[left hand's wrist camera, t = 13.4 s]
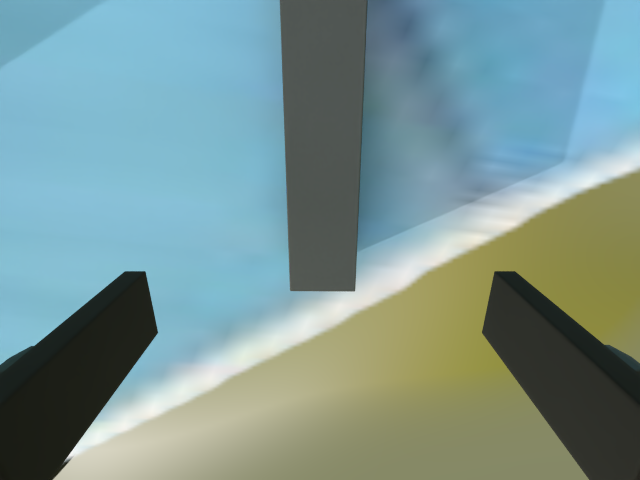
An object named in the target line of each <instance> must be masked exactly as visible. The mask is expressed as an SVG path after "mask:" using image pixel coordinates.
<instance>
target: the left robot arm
mask: <svg viewBox="0 0 640 480" xmlns="http://www.w3.org/2000/svg"><path fill="white" fill-rule="evenodd" d="M157 333H158V331H157V326H156V321H155V316H154V311H153V306H152V301H151V297H150V292H149V287H148V282H147V277H146V272H145V271H125V272H124V273H123V274H121V275H120V276H119V277H118V278H116V279H115V280H114V281H113V282H112V283H110V284H109V285H108V286H107V287H106V288H104V289H103V290H102V291H101V292H99V293H98V294H97V295H96V296H95V297H93V298H92V299H91V300H90V301H89V302H87V303H86V304H85V305H84V306H82V307H81V308H80V309H79V310H78V311H76V312H75V313H74V314H73V315H72V316H70V317H69V318H68V319H67V320H65V321H64V322H63V323H62V324H61V325H59V326H58V327H57V328H56V329H55V330H53V331H52V332H51V333H50V334H48V335H47V336H46V337H45V338H44V339H42V340H41V341H40V342H39V343H38V344H36V345H35V346H31V347H29V348H27V349H25V350H23V351H21V352H20V353H18V354H16V355H14V356H12V357H10V358H9V359H7V360H6V361H5V362H4V363H2V364H1V365H0V480H53V479H54V478H55V477H56V476H57V475H58V474H59V473H60V472H61V470H62V469H63V468H64V467H65V466H66V465H67V464H68V463H69V461H70V460H71V459H72V458H73V457H72V458H70V459H66V458H67V457H68V455H69V454H70V453H71V451H72V450H73V448H74V447H75V446H76V444H77V443H78V442H79V440H80V439H81V437H82V436H83V435H84V433H85V432H86V431H87V429H88V428H89V427H90V425H91V424H92V422H93V421H94V420H95V418H96V417H97V416H98V414H99V413H100V411H101V410H102V409H103V407H104V406H105V405H106V403H107V402H108V401H109V399H110V398H111V396H112V395H113V394H114V392H115V391H116V390H117V388H118V387H119V385H120V384H121V383H122V381H123V380H124V379H125V377H126V376H127V374H128V373H129V372H130V370H131V369H132V368H133V366H134V365H135V364H136V362H137V361H138V359H139V358H140V357H141V355H142V354H143V353H144V351H145V350H146V348H147V347H148V346H149V344H150V343H151V342H152V340H153V339H154V338H155V336H156V335H157ZM482 333H483V335H484V336H485V337H486V339H487V340H488V342H489V343H490V344H491V346H492V347H493V348H494V350H495V351H496V353H497V354H498V355H499V357H500V358H501V359H502V361H503V362H504V364H505V365H506V366H507V368H508V369H509V370H510V372H511V373H512V374H513V376H514V377H515V379H516V380H517V381H518V383H519V384H520V385H521V387H522V388H523V390H524V391H525V392H526V394H527V395H528V396H529V398H530V399H531V401H532V402H533V403H534V405H535V406H536V407H537V409H538V410H539V411H540V413H541V414H542V416H543V417H544V418H545V420H546V421H547V422H548V424H549V425H550V426H551V428H552V429H553V431H554V432H555V433H556V435H557V436H558V437H559V439H560V440H561V442H562V443H563V444H564V446H565V447H566V448H567V450H568V451H569V453H570V454H571V455H572V457H573V458H574V459H575V461H576V462H577V464H578V465H579V466H580V468H581V469H582V470H583V472H584V473H585V474H586V476H587V477H588V479H589V480H640V363H638V362H637V361H636V360H635V359H633V358H632V357H630V356H629V355H627V354H625V353H623V352H621V351H619V350H618V349H616V348H614V347H612V346H610V345H604V344H602V343H601V342H600V341H599V340H598V339H596V338H595V337H594V336H593V335H592V334H590V333H589V332H588V331H587V330H585V329H584V328H583V327H582V326H581V325H579V324H578V323H577V322H576V321H575V320H573V319H572V318H571V317H570V316H568V315H567V314H566V313H565V312H564V311H562V310H561V309H560V308H559V307H558V306H556V305H555V304H554V303H553V302H551V301H550V300H549V299H548V298H547V297H545V296H544V295H543V294H542V293H541V292H539V291H538V290H537V289H536V288H534V287H533V286H532V285H531V284H529V283H528V282H527V281H526V280H525V279H524V278H522V277H521V276H520V275H519V274H517V273H516V272H515V271H513V272H512V271H510V272H509V271H506V272H505V271H502V272H501V271H496V272H494V277H493V282H492V287H491V292H490V297H489V301H488V306H487V311H486V316H485V321H484V326H483V331H482ZM65 459H66V460H65Z"/></svg>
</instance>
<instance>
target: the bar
mask: <svg viewBox="0 0 640 480" xmlns="http://www.w3.org/2000/svg"><path fill="white" fill-rule="evenodd" d="M280 15H281V44H282V72H283V101H284V129H285V158H286V186H287V215H288V243H289V272H290V291H355V281H356V257H357V234H358V210H359V186H360V163H361V139H362V116H363V92H364V68H365V45H366V21H367V0H280Z"/></svg>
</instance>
